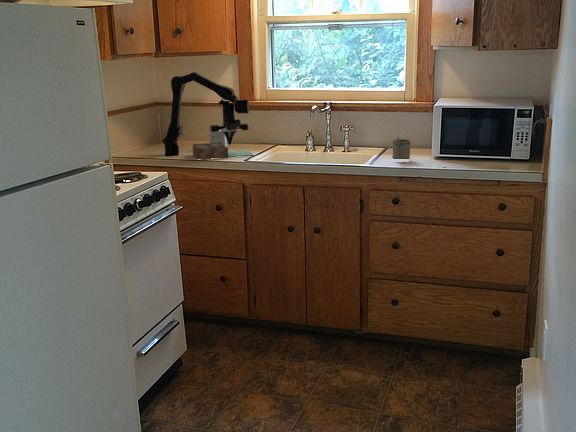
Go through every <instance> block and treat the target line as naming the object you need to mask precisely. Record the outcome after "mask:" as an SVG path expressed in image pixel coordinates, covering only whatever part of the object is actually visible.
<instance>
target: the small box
mask: <svg viewBox="0 0 576 432" xmlns="http://www.w3.org/2000/svg"><path fill="white" fill-rule="evenodd" d="M221 131H222V130H219V131H218V132H211V131H210V130H209V137H210V139H209V140H210V143H222V144H223V145H224V146H226V147H228V141H227V139H226V136H225V135H224V133H222V132H221Z"/></svg>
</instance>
